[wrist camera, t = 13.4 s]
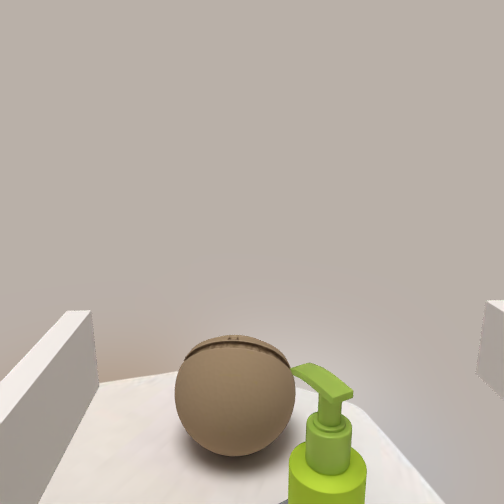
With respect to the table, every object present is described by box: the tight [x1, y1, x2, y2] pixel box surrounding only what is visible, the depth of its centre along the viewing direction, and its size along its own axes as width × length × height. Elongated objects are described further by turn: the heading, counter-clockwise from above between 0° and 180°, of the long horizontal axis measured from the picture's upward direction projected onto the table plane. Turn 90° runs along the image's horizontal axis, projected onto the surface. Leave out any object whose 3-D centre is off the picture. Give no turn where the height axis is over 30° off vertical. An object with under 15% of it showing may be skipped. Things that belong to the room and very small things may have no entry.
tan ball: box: [175, 335, 295, 456], centre depth 55 cm, size 15×15×15 cm
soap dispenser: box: [288, 363, 367, 504], centre depth 35 cm, size 6×7×20 cm
